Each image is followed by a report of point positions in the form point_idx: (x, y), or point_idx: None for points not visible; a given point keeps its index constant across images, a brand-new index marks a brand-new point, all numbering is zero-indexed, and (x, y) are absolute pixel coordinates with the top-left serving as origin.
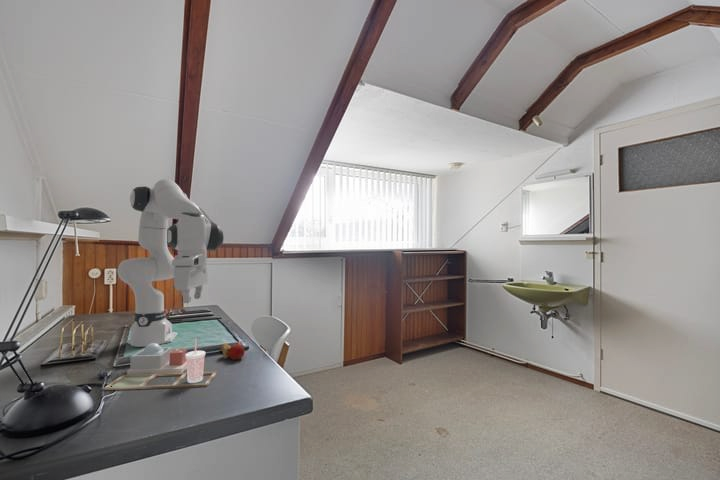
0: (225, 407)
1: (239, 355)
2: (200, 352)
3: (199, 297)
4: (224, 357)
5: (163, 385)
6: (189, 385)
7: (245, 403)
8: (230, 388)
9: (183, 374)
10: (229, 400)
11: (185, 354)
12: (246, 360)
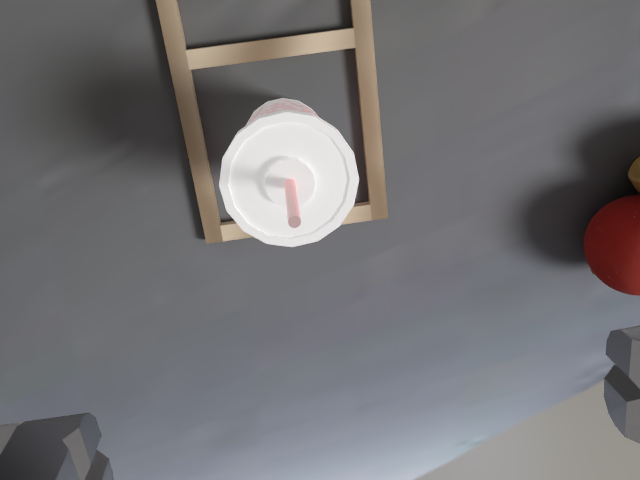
0: (11, 406)
1: (592, 271)
2: (321, 202)
3: (619, 426)
4: None
5: (167, 3)
6: (188, 156)
7: None
8: (196, 354)
9: (341, 36)
10: (75, 396)
11: (259, 119)
12: (581, 291)
